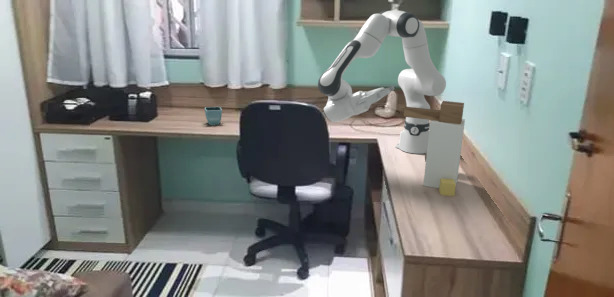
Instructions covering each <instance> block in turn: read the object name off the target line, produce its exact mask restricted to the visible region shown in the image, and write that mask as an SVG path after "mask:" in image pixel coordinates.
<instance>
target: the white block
mask: <svg viewBox="0 0 614 297" xmlns="http://www.w3.org/2000/svg"><path fill="white" fill-rule="evenodd" d="M429 123H430V127H429V137H428V147H427V156H426V162H425V165H424V166H425V168H424V177H423V187H428V188H435V189H439V187H440V179H454V181H455V183H456V184H457V183H458V178H459V176H458V175H459V169H460V163H461V162H460V161H461V153H462V146H463V145H462V144H463V139H464V131H465V125H466V124H465V123H466V119H464V118H462V122H461V124H453V123H445V122H439V121H436V120H430V121H429Z"/></svg>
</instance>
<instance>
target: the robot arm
mask: <svg viewBox="0 0 614 297" xmlns="http://www.w3.org/2000/svg"><path fill="white" fill-rule="evenodd" d="M388 36H390V37H394V38H395V37H397V38H401V40H402V41H401V42H402V49H403V53H404V60H405V62H406V64H407V65H408V67H409V68H406V69H402V70H401V71H400V73H399V74H398V77H397V84H398V86H399V88H401V90H402V92H403V95H404V98H405V103H406V104H405V105H406V107H415V108H424V109H431V106H430V104H429V103H428V101H427V100H426V98H425V96H428V97H436V96H437V97H439V96H440V95H442V94H443V93H444V92H445V90H446V87H447V80H446V78H445V77H444V76H443V75H442V74H441V73H440V71H439V70H438V68H436V66H435V64H434V63H433V60H432V58H431V54H430V49H429V44H428V36H427V34H426V29H425V27H424V24H423V22H422V20H420V19H419V17H417V16H416V15H415V14H414V13H412V12H410V11H403V10H389V9H387V10H383V11H380V12H379V13H373V14H372V15H370V16H369V18H367V20H366V21H365V22H364V24H363V25H362V27H361V28H360V29H359V31H358V33H357V35H355V37H354V38H353V40H351V41H349V42H347V44H345V46H344V48H342V50H340V51H341V52H339V54H338V55H337V57H336V58H335V59H334V61H333V62H332V64H331V65H330V66H329V67H328V68H327V69H326V70H325V71H324V72H323V73H322V74H321V75H320V76H319V78H318V82H317V88H318V90H319V92H320V93H321V94H323V95H325V96H326V97H327V98H328V99H327V102H326V103H325V104H326V105H325V106H324V107H323V112H324V115H325V117H326V118H327V119H328V120H329V121H330V122H331V123H338V122H342V121H346V120H347V119H350V118H351V117H353V116H358V115H361V114H363V113H365V112H367V111H369V110H370V107H372V104H376V103H377V102H379V101H380V100H381V99H383V98H384V97H386V96H387V95H389V94H390V93H391V92H393V91H394V90H395V87H394V86H393V85H392V86H389V87H386V88H385V87H378V88H375V89H371V90H368V91H365V90H359V91H356V92H353V89H352V86H351V85H350V84H349V83H348V82H347V81H346V80H344V79H343V75H344V73H345V72H346V71H347V70H348V68H349V67H350V65H351V63H352V62H353V61H354V60H356V59H358V58H360V59H370V58H372V57H374V56H375V55H376V54H377V52H379V50H380V48H381V47H382V44H383V43H384V41H385V38H387V37H388ZM403 125H404V127H403V129H402V131H400V134H399V142H398V143H397V144H395V148H396V149H399V150H401V151H402V152H406V153H408V154H409V153H411V154H416V155H417V154H422V155H423V154H426V152H427V147H428V137H429V128H430V120H427V119H419V118H410V117H405V120H404V123H403Z"/></svg>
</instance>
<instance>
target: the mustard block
mask: <svg viewBox="0 0 614 297" xmlns="http://www.w3.org/2000/svg"><path fill="white" fill-rule="evenodd" d="M456 186H457V183H455V181H454V179H440V187H439V188H438V191H439V193H440V194H439V195H440V196H445V197H447V196H448V197H449V196H450V197H455V195H456Z"/></svg>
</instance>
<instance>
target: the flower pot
mask: <svg viewBox="0 0 614 297" xmlns="http://www.w3.org/2000/svg"><path fill="white" fill-rule="evenodd" d="M222 112H223V109H222V107H221V106H211V107H210V106H209V107H208V106H206V107H204V114H205V118H206V121H207V123H208V124H209V126H218V125H220V123H221V120H222V114H223V113H222Z"/></svg>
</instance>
